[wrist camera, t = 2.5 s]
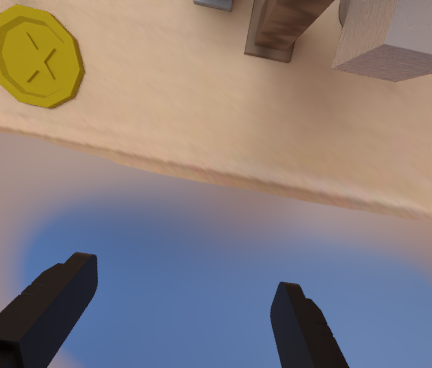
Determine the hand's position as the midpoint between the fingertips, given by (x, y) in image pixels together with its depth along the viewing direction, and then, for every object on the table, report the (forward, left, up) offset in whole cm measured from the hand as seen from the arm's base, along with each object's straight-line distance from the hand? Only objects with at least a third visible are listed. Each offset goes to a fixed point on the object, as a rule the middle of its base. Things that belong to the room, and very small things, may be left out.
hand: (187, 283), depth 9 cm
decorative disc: (+36, -13, -40) cm, 55 cm away
